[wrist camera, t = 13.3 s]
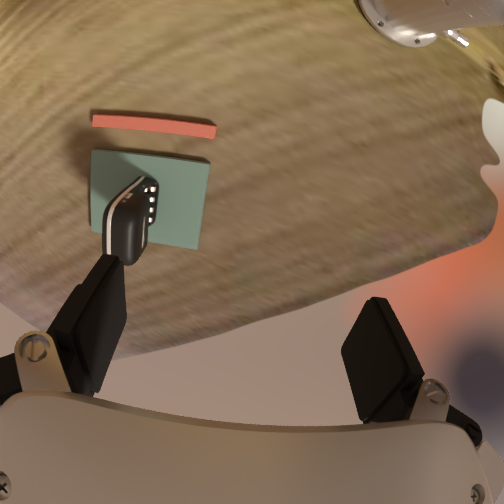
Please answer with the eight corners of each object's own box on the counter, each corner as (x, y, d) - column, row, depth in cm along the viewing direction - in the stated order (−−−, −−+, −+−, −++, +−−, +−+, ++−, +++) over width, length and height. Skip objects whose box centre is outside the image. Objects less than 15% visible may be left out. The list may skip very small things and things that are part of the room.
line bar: (217, 125, 34) (216, 126, 32) (214, 137, 34) (214, 139, 33) (97, 114, 32) (93, 115, 31) (96, 125, 32) (92, 126, 31)
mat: (210, 162, 36) (209, 164, 35) (198, 246, 42) (197, 249, 41) (94, 148, 34) (91, 150, 33) (94, 228, 40) (91, 231, 39)
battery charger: (160, 227, 39) (134, 275, 29) (134, 222, 38) (101, 268, 29) (166, 178, 36) (137, 213, 26) (138, 173, 35) (100, 207, 25)
